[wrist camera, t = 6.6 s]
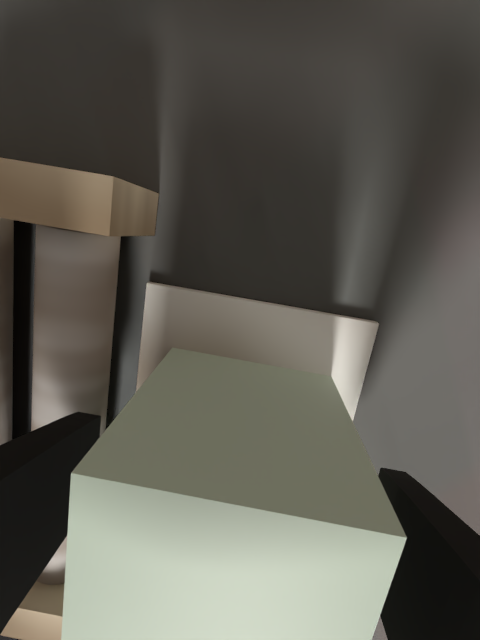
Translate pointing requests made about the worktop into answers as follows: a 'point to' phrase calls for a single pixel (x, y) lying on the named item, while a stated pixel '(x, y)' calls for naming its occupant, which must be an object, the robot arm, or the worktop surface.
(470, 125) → the worktop surface
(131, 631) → the block
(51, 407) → the roller bed
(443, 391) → the worktop surface
